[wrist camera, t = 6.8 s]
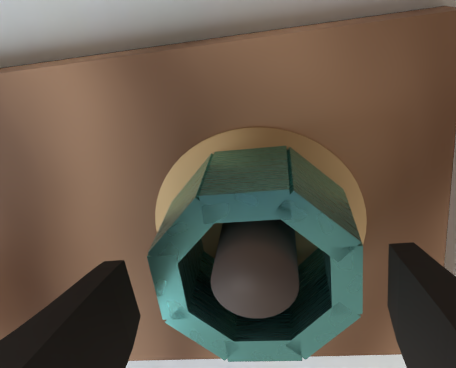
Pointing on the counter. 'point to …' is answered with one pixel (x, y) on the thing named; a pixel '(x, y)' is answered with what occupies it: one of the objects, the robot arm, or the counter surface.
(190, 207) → the ring
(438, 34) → the board
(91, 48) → the counter surface
